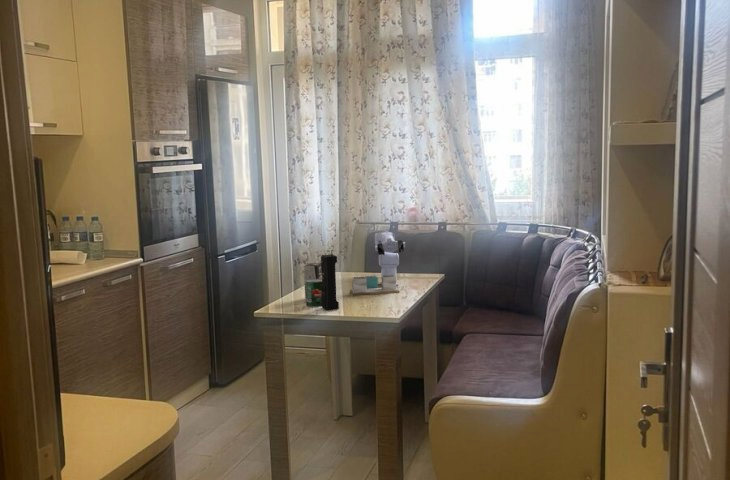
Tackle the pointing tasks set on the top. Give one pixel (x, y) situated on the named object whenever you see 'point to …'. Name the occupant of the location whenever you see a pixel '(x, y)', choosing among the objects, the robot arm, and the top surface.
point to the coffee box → (312, 272)
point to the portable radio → (328, 282)
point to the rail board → (361, 288)
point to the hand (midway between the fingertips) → (391, 251)
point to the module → (372, 282)
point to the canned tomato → (313, 292)
